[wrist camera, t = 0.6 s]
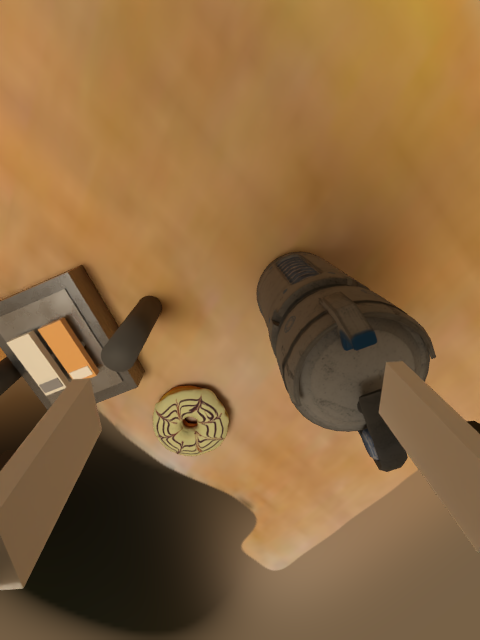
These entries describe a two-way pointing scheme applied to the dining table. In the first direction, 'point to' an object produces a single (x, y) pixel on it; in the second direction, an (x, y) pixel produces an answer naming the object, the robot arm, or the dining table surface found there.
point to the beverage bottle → (339, 347)
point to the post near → (131, 335)
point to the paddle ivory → (38, 362)
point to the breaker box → (82, 316)
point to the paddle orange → (68, 349)
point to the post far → (7, 374)
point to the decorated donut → (186, 435)
